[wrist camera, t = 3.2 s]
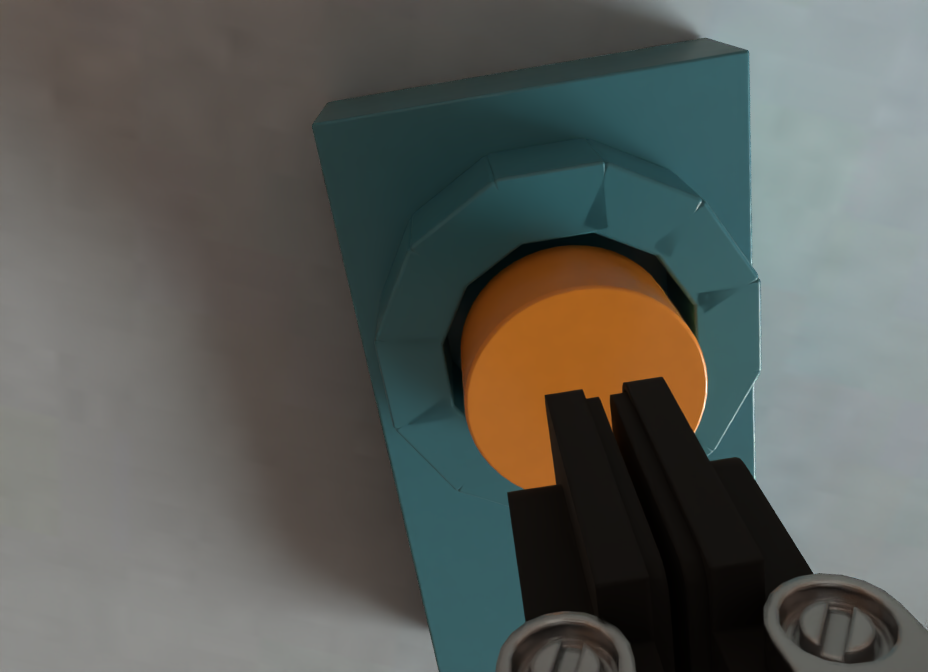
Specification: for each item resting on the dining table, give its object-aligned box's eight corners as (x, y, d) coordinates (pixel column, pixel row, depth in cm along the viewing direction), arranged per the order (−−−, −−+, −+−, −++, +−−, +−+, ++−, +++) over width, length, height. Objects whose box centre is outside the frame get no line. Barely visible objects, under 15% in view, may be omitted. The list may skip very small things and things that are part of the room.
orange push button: (443, 263, 15) (445, 308, 13) (669, 226, 15) (704, 266, 13) (477, 453, 16) (483, 517, 14) (680, 422, 16) (713, 483, 14)
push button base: (326, 101, 17) (294, 146, 13) (707, 37, 17) (794, 62, 13) (446, 637, 24) (449, 780, 20) (727, 595, 23) (790, 731, 19)
